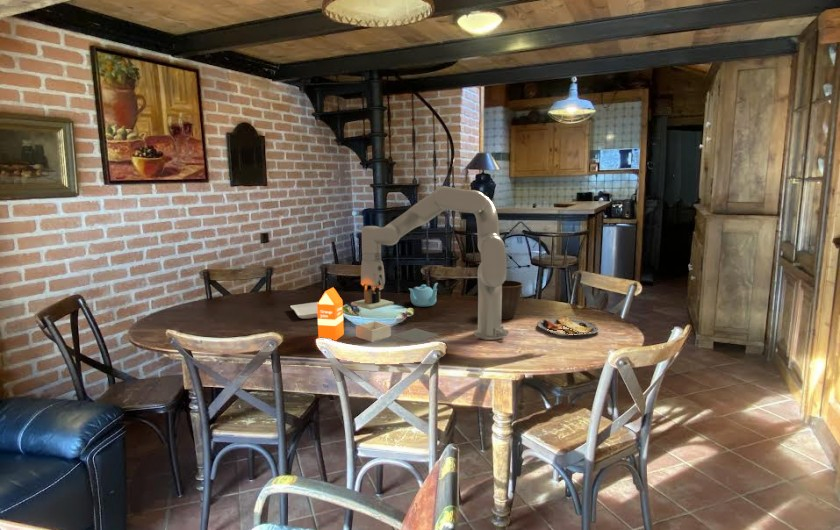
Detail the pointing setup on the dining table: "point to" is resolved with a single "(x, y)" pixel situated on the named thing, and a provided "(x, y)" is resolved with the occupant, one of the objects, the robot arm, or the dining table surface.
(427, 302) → the teapot
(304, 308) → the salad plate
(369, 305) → the lid
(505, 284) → the plant pot
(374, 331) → the open tan box
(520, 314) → the dining table surface
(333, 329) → the orange juice
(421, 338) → the mat
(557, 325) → the food plate
